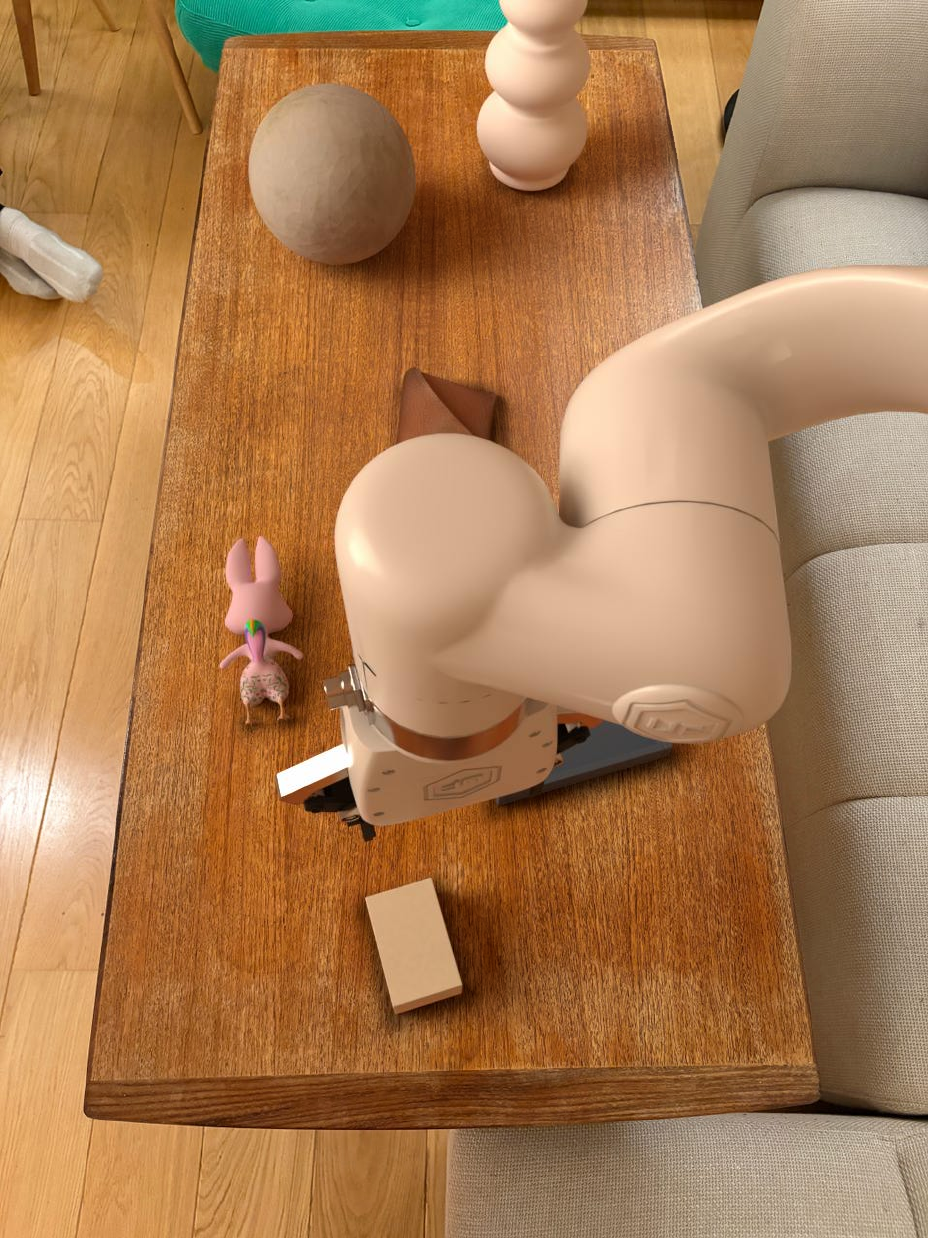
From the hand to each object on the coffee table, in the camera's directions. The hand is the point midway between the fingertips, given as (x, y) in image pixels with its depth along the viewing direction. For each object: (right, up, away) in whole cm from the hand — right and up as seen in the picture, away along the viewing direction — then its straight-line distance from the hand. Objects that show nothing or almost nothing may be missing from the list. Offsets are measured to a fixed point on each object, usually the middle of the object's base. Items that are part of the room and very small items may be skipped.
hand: (446, 793), depth 58 cm
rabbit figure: (-15, +8, +21) cm, 27 cm away
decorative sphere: (-11, +47, +40) cm, 63 cm away
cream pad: (-2, -12, +10) cm, 16 cm away
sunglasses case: (-1, +22, +28) cm, 36 cm away
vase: (+8, +56, +46) cm, 73 cm away
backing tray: (+7, +6, +19) cm, 22 cm away
